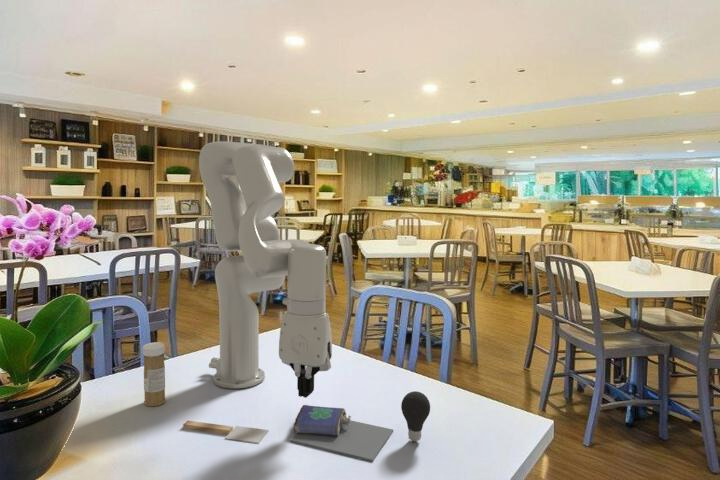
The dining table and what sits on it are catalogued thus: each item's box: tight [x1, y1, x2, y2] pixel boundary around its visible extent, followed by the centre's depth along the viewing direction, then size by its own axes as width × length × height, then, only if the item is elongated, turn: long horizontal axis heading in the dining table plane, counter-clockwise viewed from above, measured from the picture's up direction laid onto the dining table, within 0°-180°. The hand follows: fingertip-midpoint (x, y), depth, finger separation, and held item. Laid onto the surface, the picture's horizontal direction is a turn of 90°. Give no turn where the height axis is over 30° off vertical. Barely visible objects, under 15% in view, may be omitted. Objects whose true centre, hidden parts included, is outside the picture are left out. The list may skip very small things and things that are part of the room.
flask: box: [293, 404, 352, 436], centre depth 99 cm, size 9×3×11 cm
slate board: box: [290, 419, 394, 463], centre depth 96 cm, size 17×12×1 cm
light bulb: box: [400, 391, 431, 443], centre depth 94 cm, size 6×6×10 cm
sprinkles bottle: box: [142, 341, 166, 407], centre depth 108 cm, size 5×5×14 cm
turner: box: [182, 420, 269, 445], centre depth 97 cm, size 17×5×1 cm, turn 78°
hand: (305, 394), depth 98 cm, fingers closed
